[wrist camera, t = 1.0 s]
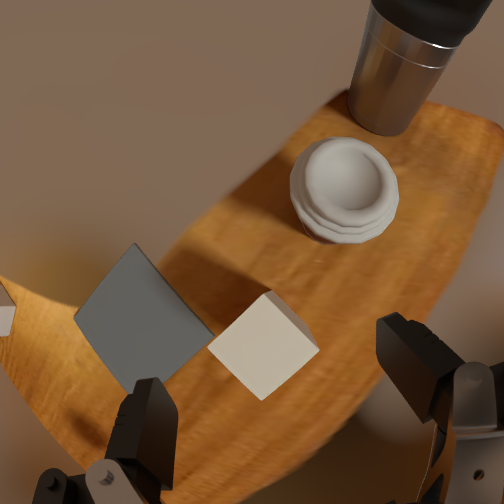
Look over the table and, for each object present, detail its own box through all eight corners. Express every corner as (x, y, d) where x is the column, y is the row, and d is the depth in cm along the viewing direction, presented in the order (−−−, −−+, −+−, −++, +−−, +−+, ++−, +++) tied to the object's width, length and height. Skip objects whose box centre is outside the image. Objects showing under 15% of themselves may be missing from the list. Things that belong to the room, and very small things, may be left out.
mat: (136, 243, 33) (133, 242, 32) (215, 335, 31) (213, 336, 30) (75, 318, 33) (73, 318, 33) (140, 403, 31) (138, 404, 30)
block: (272, 290, 30) (263, 293, 19) (307, 325, 29) (319, 350, 18) (236, 324, 30) (206, 347, 19) (271, 358, 30) (261, 400, 18)
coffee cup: (341, 273, 30) (373, 265, 18) (273, 227, 31) (264, 193, 19) (379, 207, 30) (423, 168, 18) (315, 165, 31) (326, 107, 20)
